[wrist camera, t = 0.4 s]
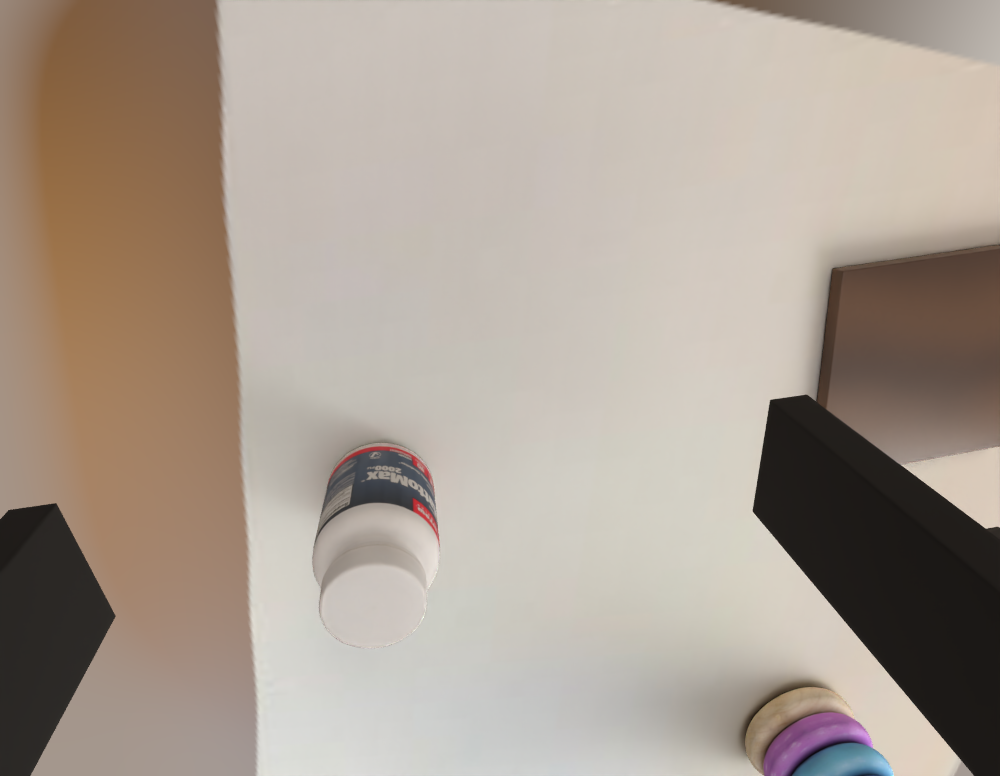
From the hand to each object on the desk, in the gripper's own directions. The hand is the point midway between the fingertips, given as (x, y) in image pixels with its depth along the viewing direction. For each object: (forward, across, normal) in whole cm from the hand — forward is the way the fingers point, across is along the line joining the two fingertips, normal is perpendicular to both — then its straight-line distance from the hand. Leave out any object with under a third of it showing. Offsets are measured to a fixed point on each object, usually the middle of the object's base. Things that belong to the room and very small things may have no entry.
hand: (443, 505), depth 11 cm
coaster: (+17, +27, -8) cm, 33 cm away
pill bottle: (+16, -3, -11) cm, 20 cm away
